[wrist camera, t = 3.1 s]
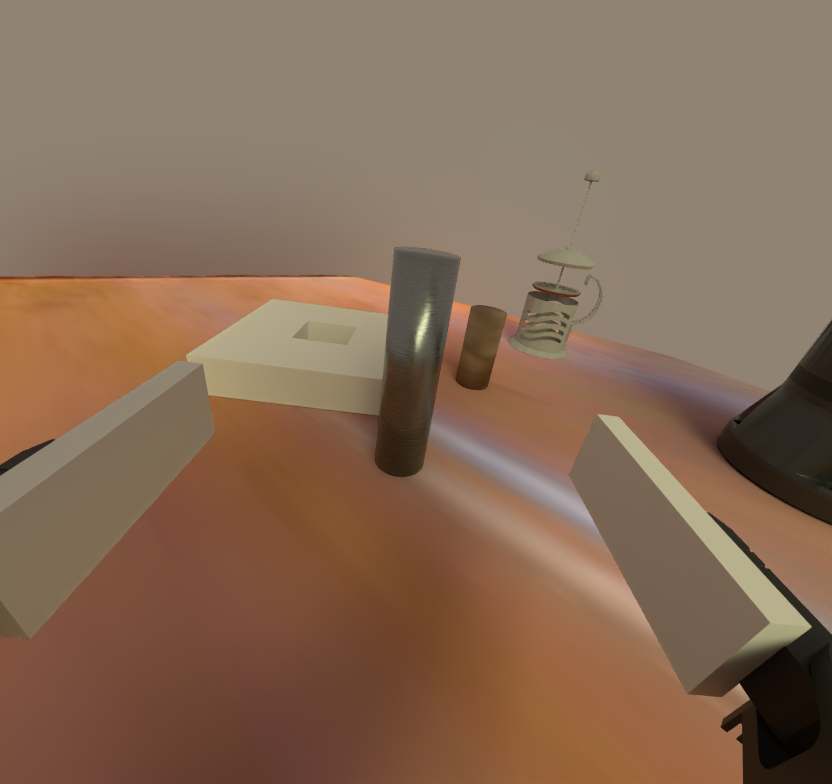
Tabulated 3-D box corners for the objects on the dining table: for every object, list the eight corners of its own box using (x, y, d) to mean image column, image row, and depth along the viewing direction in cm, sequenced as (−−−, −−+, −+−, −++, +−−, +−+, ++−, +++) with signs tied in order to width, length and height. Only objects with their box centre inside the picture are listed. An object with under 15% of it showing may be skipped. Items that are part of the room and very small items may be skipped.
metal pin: (423, 447, 30) (457, 253, 22) (423, 479, 27) (464, 262, 19) (378, 441, 30) (396, 244, 22) (371, 473, 26) (391, 252, 19)
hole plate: (410, 343, 51) (414, 317, 49) (403, 418, 33) (408, 382, 31) (274, 326, 50) (272, 298, 48) (194, 393, 33) (186, 355, 31)
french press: (509, 331, 62) (554, 170, 50) (576, 346, 60) (639, 180, 48) (506, 349, 54) (558, 160, 42) (582, 367, 52) (661, 172, 40)
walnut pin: (485, 376, 44) (502, 308, 40) (490, 391, 41) (510, 318, 36) (454, 372, 44) (469, 303, 40) (457, 387, 41) (473, 313, 36)
